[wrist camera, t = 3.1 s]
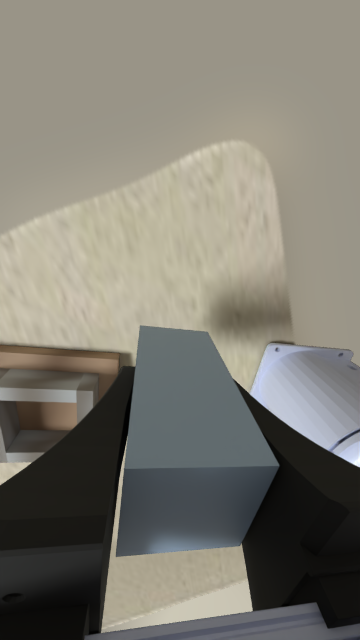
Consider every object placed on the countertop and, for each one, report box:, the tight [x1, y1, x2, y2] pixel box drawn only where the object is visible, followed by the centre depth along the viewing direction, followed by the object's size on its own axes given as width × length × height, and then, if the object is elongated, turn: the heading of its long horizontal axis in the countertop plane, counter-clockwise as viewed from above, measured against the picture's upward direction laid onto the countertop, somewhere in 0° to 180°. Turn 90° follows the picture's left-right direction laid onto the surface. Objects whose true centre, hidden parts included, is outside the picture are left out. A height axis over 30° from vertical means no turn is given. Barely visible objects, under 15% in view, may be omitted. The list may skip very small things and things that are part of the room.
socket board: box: [0, 345, 120, 463], centre depth 19 cm, size 11×11×3 cm
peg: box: [116, 326, 279, 557], centre depth 10 cm, size 4×4×8 cm
